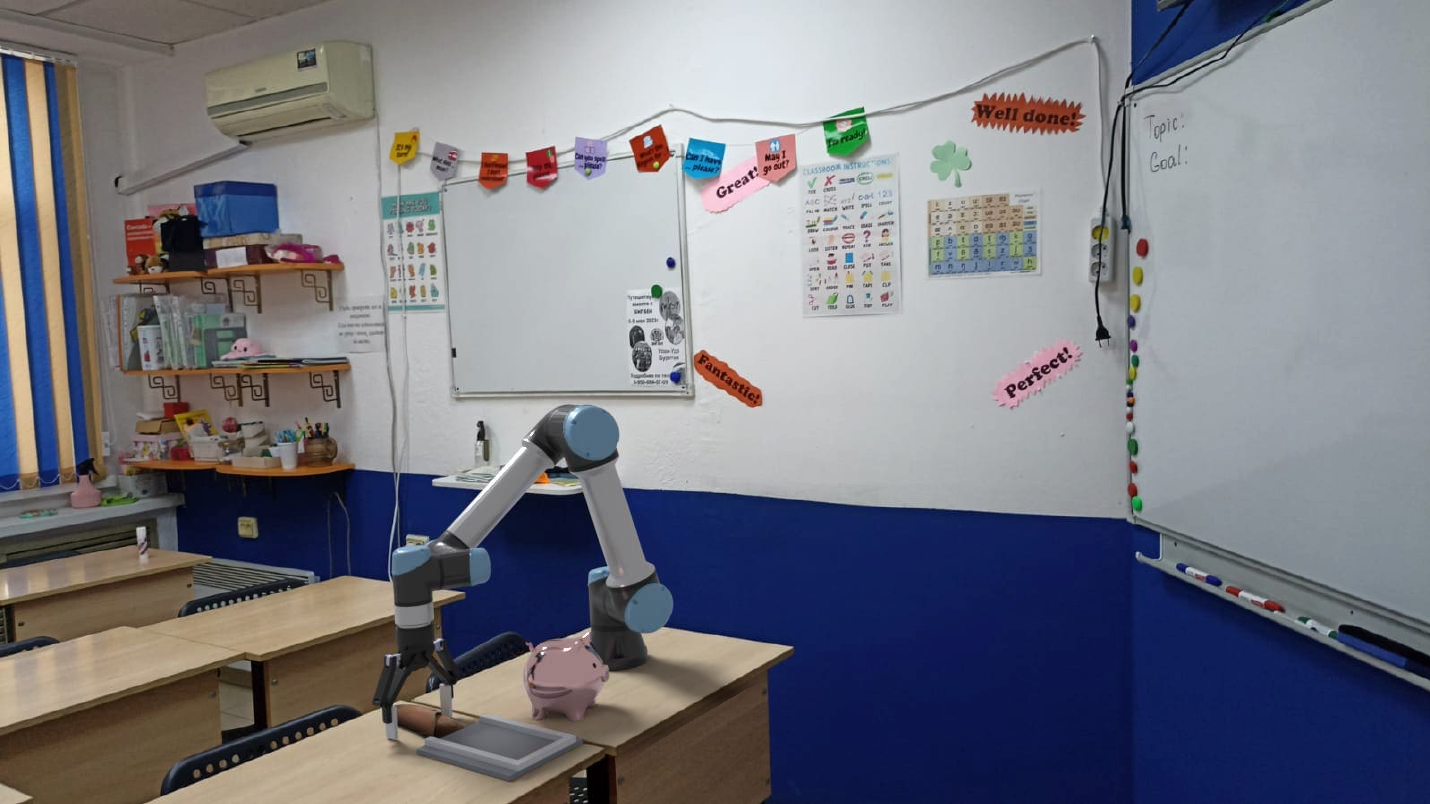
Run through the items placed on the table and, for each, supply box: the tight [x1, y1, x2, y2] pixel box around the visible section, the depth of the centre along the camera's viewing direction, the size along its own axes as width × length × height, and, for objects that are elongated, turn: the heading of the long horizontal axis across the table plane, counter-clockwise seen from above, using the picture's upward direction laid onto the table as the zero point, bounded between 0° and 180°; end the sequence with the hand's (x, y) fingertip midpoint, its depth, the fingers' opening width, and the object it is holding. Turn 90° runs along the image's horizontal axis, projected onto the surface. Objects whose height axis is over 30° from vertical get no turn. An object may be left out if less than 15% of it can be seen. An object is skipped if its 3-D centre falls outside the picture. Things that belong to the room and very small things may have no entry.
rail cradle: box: [416, 713, 584, 782], centre depth 186 cm, size 19×25×2 cm
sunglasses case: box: [393, 703, 467, 739], centre depth 200 cm, size 18×7×7 cm, turn 48°
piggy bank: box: [522, 631, 610, 722], centre depth 204 cm, size 15×18×16 cm
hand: (420, 726), depth 199 cm, fingers open, 13 cm apart
